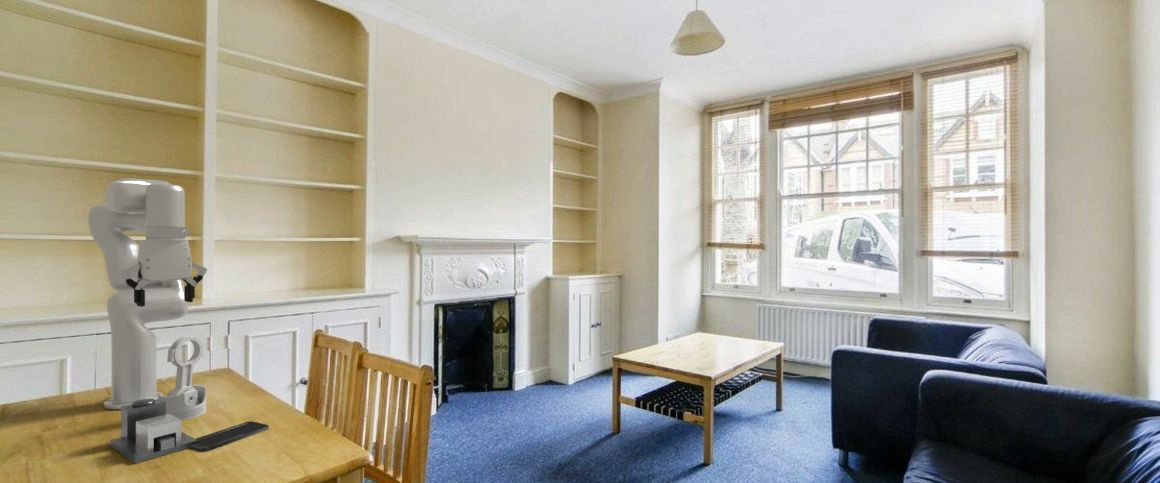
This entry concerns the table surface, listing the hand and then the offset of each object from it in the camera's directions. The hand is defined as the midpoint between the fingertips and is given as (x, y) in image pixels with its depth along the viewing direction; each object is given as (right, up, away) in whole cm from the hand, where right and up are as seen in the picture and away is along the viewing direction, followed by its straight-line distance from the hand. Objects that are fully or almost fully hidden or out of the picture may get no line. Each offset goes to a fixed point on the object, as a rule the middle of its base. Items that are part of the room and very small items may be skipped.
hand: (165, 303), depth 126 cm
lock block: (+9, -29, -13) cm, 33 cm away
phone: (+20, -31, -6) cm, 37 cm away
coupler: (+6, -31, -11) cm, 33 cm away
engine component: (-2, -30, +9) cm, 32 cm away
